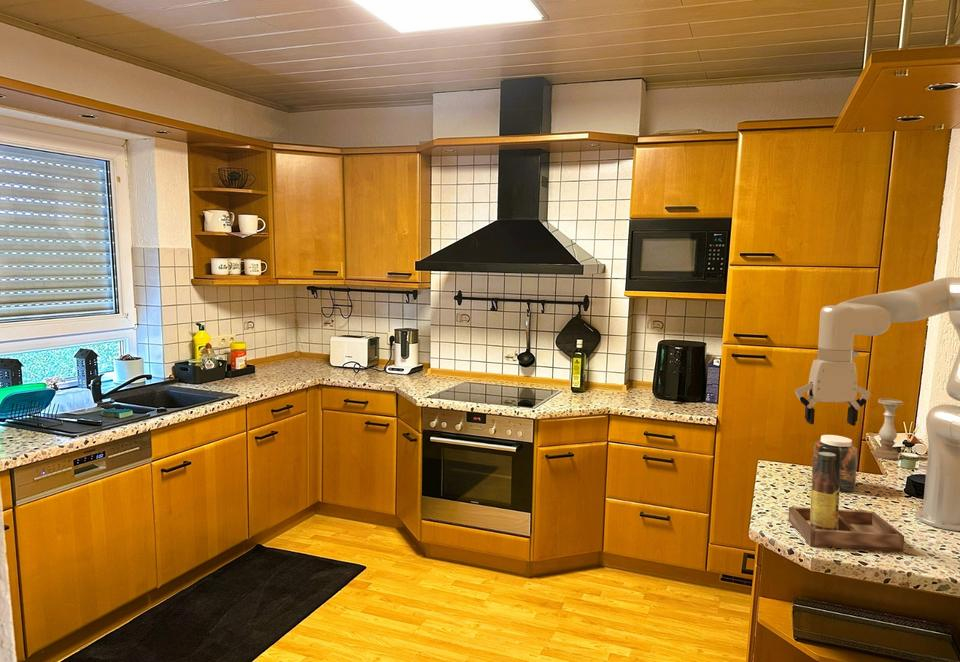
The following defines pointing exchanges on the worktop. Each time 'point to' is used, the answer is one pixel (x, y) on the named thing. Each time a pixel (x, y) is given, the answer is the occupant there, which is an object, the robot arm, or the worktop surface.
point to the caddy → (849, 531)
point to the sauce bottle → (825, 494)
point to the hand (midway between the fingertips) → (830, 423)
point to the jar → (838, 459)
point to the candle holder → (888, 430)
